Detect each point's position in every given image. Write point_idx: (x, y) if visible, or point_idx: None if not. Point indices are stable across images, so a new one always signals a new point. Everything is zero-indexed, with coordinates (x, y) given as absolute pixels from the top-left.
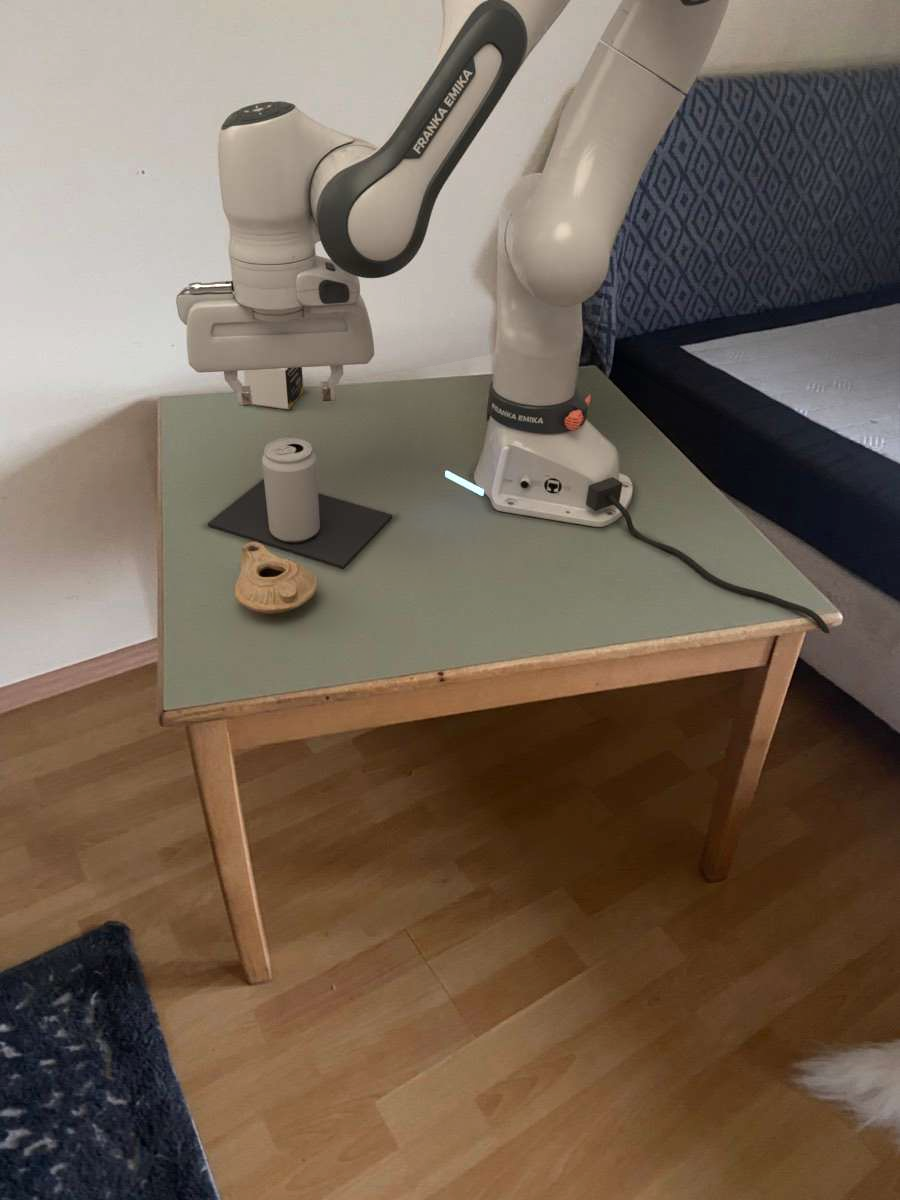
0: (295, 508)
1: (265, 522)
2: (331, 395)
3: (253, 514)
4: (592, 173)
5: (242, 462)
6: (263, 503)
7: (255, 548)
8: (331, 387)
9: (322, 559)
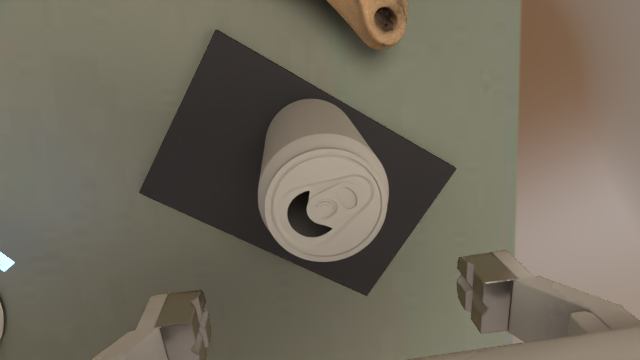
0: (306, 112)
1: None
2: (159, 304)
3: None
4: None
5: (401, 338)
6: None
7: (381, 23)
8: (147, 328)
9: (256, 53)
